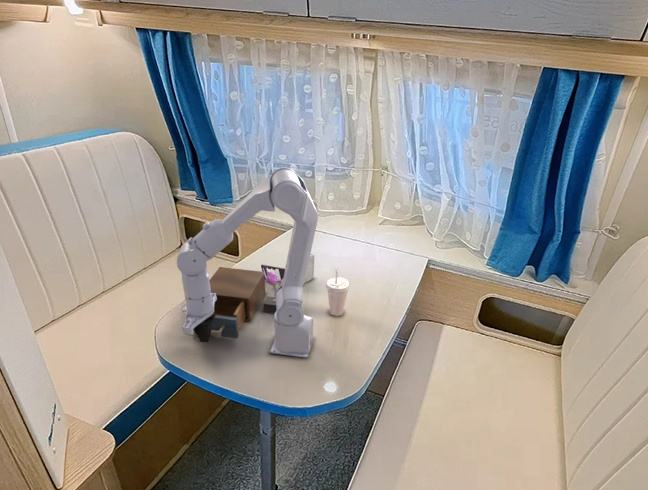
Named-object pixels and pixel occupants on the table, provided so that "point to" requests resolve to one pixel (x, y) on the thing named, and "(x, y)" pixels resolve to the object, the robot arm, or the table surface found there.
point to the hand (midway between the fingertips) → (204, 340)
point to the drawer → (228, 317)
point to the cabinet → (240, 287)
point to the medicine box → (310, 269)
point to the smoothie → (337, 294)
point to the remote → (269, 305)
